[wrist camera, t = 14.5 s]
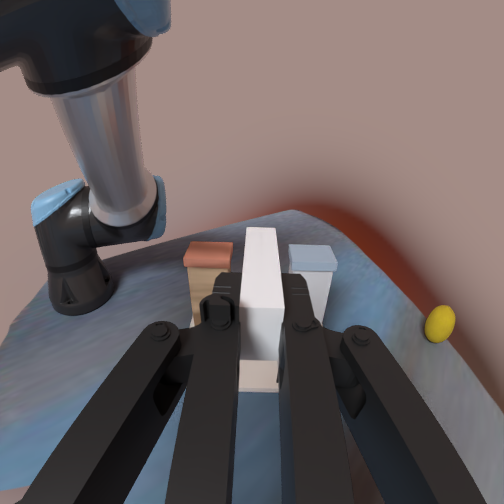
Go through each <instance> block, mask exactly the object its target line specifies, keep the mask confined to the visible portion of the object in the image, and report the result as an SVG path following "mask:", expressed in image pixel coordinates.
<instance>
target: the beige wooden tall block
mask: <svg viewBox="0 0 504 504" xmlns="http://www.w3.org/2000/svg"><path fill="white" fill-rule="evenodd" d="M232 252H233V242H199V241H191V243H190V245H189V247H188V249H187V251H186V253H185V256H184V258H183V261H184V267H187V270H188V279H189V287H190V296H191V304H192V311H193V318H194V326H196V325H199V324H200V323H201V316H200V308H199V303H200V302H201V300H202V299H203V298H205V297H206V296H208V295H211V294H212V290H213V287H214V282H215V278H216V277H217V276H218V275H219V274H220V273H221V272H231V258H232Z"/></svg>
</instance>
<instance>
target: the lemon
mask: <svg viewBox="0 0 504 504" xmlns="http://www.w3.org/2000/svg"><path fill="white" fill-rule="evenodd" d="M454 325H455V314H454V312H453V310H452V309H451V308H450V307H449V306H445V305H442V306H438V307H436V308H435V309H434V310H433V311H432V312H431V313H430V315H429V316H428V318H427V320H426V323H425V335H426V337H427V338H428V339H429V340H430V341H431V342H434V343H440V342H443V341H444V340H446V339H447V338H448V337H449V335H450V334H451V332H452V331H453V328H454Z"/></svg>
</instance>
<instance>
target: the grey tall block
mask: <svg viewBox="0 0 504 504" xmlns="http://www.w3.org/2000/svg"><path fill="white" fill-rule="evenodd" d="M288 254H289V259H290V265H289V273H292V274H301V275H302V276H303V277H304V278H305V279H306V281H307V285H308V290H309V295H310V298H311V302H312V307H313V311H314V316H315V318H317V319H318V320H319V321H320V323H321V325H322V321H323V317H324V312H325V308H326V303H327V299H328V294H329V289H330V284H331V279H332V274H333V271H336V270H337V264H338V262H337V260H336V258H335V256H334V254H333V251H332V249H331V247H330V246H327V245H299V244H289V249H288Z"/></svg>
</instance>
